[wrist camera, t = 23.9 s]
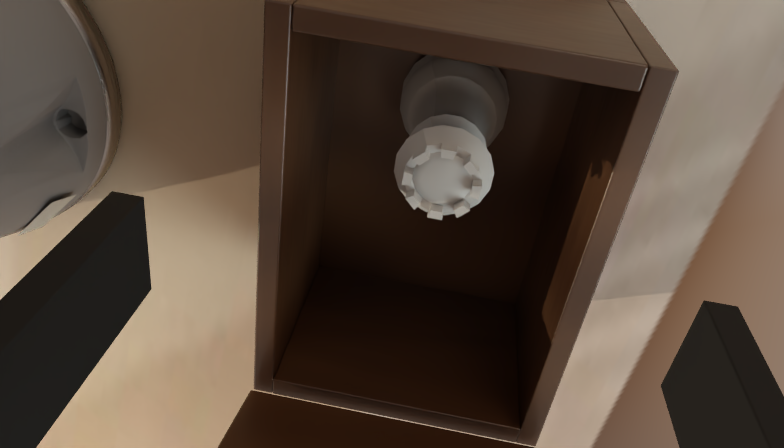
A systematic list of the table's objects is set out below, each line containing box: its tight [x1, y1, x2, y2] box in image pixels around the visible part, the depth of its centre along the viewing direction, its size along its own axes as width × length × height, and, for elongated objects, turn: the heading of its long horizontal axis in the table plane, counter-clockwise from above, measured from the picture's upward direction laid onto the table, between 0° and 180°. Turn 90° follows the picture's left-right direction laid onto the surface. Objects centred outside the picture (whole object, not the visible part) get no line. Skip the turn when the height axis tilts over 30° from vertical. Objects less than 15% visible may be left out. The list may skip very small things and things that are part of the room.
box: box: [254, 0, 679, 446], centre depth 26 cm, size 16×12×9 cm
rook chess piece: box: [394, 55, 509, 220], centre depth 24 cm, size 4×4×8 cm
